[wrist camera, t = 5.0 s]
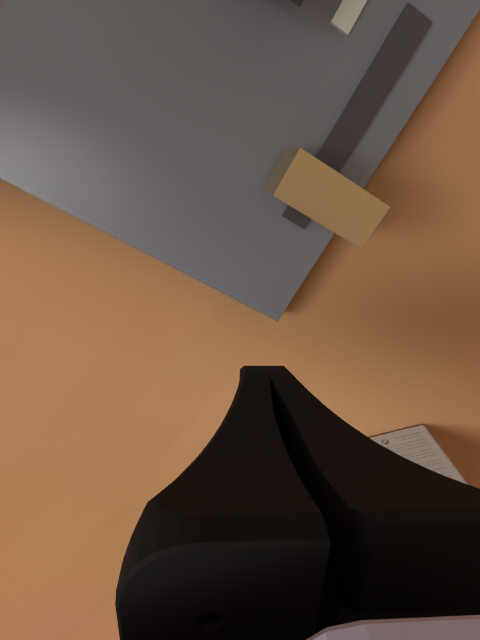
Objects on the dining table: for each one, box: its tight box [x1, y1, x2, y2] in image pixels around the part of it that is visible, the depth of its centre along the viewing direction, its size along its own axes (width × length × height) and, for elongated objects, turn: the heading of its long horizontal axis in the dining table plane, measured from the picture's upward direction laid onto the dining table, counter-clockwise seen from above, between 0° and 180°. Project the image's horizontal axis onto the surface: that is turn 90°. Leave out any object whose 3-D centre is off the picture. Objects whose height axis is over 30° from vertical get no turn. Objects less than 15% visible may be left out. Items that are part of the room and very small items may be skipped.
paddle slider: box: [263, 148, 390, 249], centre depth 16 cm, size 4×2×3 cm, turn 60°
